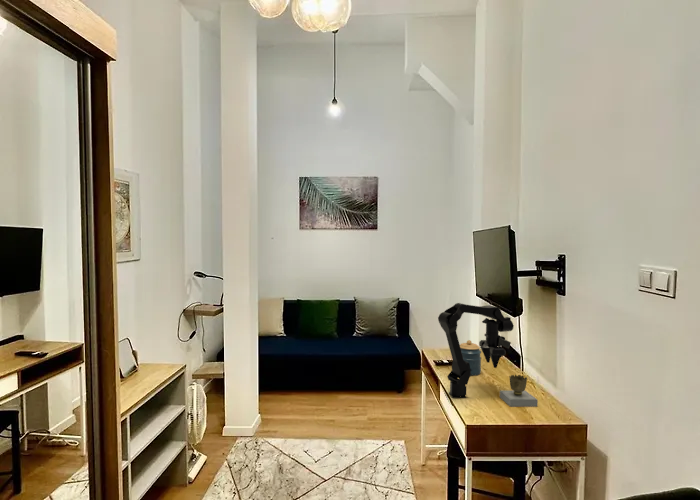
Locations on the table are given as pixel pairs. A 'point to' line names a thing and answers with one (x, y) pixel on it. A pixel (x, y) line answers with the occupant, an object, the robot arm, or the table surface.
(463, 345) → the canister
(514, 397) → the slate base
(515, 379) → the cup
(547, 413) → the table surface
